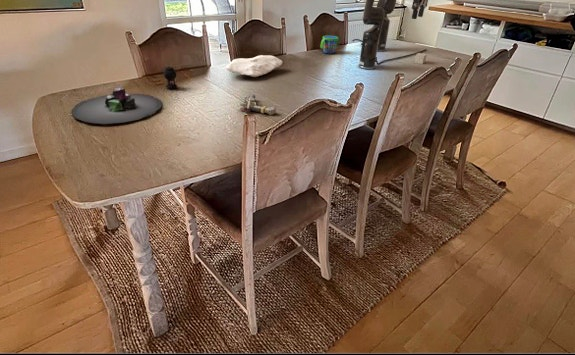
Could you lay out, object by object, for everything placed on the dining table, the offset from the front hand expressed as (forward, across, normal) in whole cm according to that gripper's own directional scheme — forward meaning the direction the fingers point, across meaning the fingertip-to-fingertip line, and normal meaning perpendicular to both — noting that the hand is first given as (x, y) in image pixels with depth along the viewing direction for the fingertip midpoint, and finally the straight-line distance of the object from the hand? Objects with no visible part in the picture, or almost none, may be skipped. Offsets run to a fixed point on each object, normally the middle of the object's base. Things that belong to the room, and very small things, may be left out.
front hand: (417, 17), depth 177 cm
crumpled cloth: (+33, -42, +70) cm, 88 cm away
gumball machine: (+33, -86, +83) cm, 124 cm away
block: (+33, +50, +8) cm, 60 cm away
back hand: (-2, +96, +34) cm, 102 cm away
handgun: (+32, -77, +36) cm, 91 cm away
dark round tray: (+32, -117, +78) cm, 145 cm away
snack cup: (+34, +28, +63) cm, 77 cm away
